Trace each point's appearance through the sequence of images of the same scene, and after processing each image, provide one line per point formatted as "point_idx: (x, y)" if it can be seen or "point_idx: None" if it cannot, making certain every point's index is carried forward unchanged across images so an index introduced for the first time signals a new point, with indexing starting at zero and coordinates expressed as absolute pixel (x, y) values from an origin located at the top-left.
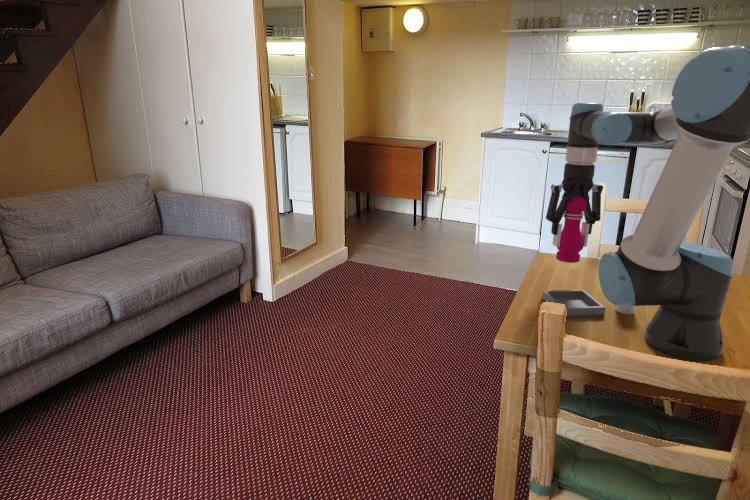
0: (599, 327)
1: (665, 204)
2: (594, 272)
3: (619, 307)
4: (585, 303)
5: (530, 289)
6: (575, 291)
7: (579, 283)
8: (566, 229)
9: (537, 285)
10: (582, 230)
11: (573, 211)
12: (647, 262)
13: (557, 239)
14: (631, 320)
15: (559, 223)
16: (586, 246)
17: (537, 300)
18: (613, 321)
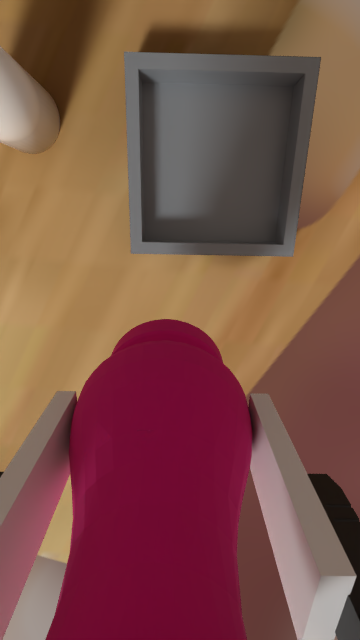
0: None
1: None
2: (2, 441)
3: (48, 99)
4: (155, 180)
5: (276, 332)
6: (168, 242)
7: (89, 365)
8: (229, 515)
9: (236, 361)
10: (39, 525)
11: None
12: None
13: (285, 433)
14: (38, 16)
15: (326, 604)
16: (58, 391)
17: (302, 242)
18: (115, 14)
